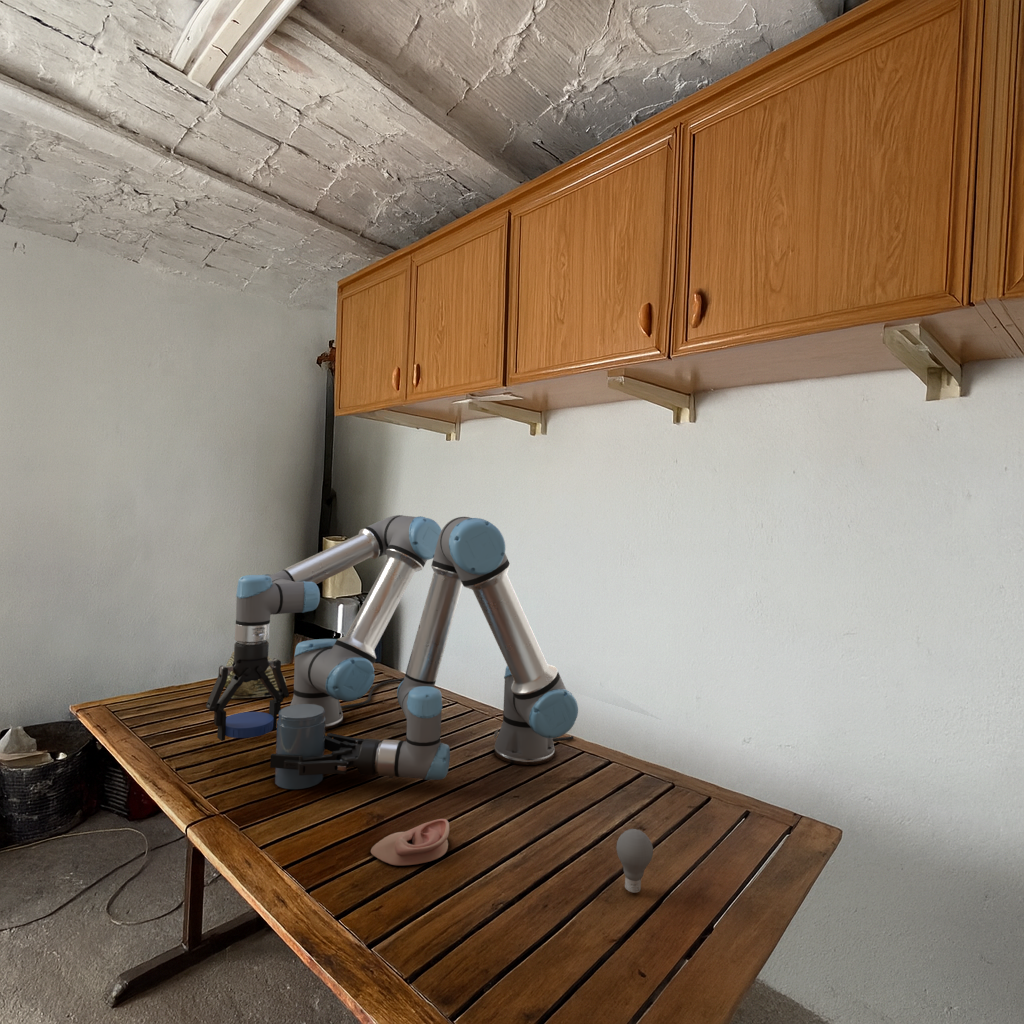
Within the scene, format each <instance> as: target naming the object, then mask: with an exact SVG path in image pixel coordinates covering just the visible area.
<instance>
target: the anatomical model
mask: <svg viewBox="0 0 1024 1024" xmlns="http://www.w3.org/2000/svg"><path fill="white" fill-rule="evenodd" d="M449 835H450V823H449V821H448V819H446V818H437V819H434V820H430V821H427V822H425V823H421V824H419V825H417V826H415V827H413V828H411V829H407V830H405V831H398V832H393V833H391V834H389V835H387V836H384V837H383V838H382V839H380V840H379V841H377V842H376V843H375V844H374V845H373V846H372V847H371V849H370V853H371V855H372V856H374V858H377V859H378V860H380V861H381V862H383V863H386V864H388V865H392V866H399V867H400V866H412V865H419V864H420V865H421V864H425V863H428V862H432V861H435V860H438V859H439V858H441V857H443V856H444V855H445V854H446V853H447V851H448V849H449V841H448V837H449Z"/></svg>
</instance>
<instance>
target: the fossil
mask: <svg viewBox="0 0 1024 1024" xmlns="http://www.w3.org/2000/svg"><path fill="white" fill-rule="evenodd" d="M269 660H273V658H271V657H270V656H269V655H268V661H269ZM233 662H234V651H232V653H231V656H230V657H229V659H228V660H227V663H226V665H225V666H232V664H233ZM265 674H266V675H267V677H268V678H269V680H270V682H271V683H272V684H273V686H274V687H275V689H276V690H277V692H278V693H280V692H279V689H278V686H277V683H276V680H275V677H274V674H273V671H272V669H271V668H270V666H269V667H268V668H267V670H266V671H265ZM234 675H235V673H234V672H233V671H231V673H230V675H229V676H228V678H227V681H226V683H225V686H224V688H225V689H226V688H227V687H228V685H229V684H230V682H231V679H232V678H233V676H234ZM283 677H284V680H285V683H286V686H287V680H286V678H285V676H284V675H283ZM287 687H288V686H287ZM264 697H272V696H271V695H270V693H269V692H268V690H267V689H266V687H265V686H264V685H263V683H262V682H261V680H260V679H258V680H257V681H249V682H243V683H242V685H241V686H239V687H238V689H237V690H236V692H235V693H234V695H233V696H232V698H231V699H250V698H264Z"/></svg>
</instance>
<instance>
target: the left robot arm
mask: <svg viewBox="0 0 1024 1024" xmlns="http://www.w3.org/2000/svg"><path fill="white" fill-rule="evenodd" d="M441 530H442V528H441V526H440V525H439V523H438V522H437V521H436V520H434V519H432V518H429V517H425V516H421V515H419V516H411V515H401V514H397V515H392V516H389V517H386V518H384V519H381V520H378V521H376V522H374V523H372V524H370V525H367V526H365V527H364V528H361V529H360V530H359V531H358V534H356V535H354V536H352V537H349V538H348V539H346V540H344V541H341V542H339V543H337V544H335V545H333V546H331V547H329V548H327V549H324V550H322V551H319V552H318V553H315V554H314V555H311V556H309V557H307V558H305V559H303V560H301V561H298V562H296V563H293V564H292V565H290V566H288V567H286V568H283V569H281V570H279V571H276V572H274V573H271V574H268V573H267V574H246V575H243V576H241V577H240V578H239V579H238V581H237V587H236V595H235V598H236V604H235V606H236V607H235V608H236V609H235V626H234V641H236V642H235V643H234V646H233V647H234V648H233V652H234V662H233V664H232V666H226V665H225V666H224V665H222V664H221V665H220V666H219V667H218V675H217V677H216V680H215V683H214V685H213V688H212V691H211V692H210V695H209V697H208V699H207V702H206V704H205V708H206V710H209V711H210V712H213V715H214V716H213V724H214V726H216V727H217V735H216V738H217V739H219V740H220V742H224V741H226V736H225V730H226V717H227V711H225V708H226V707H227V705H228V703H229V702H230V701H231V699H233V698H232V696H233V695H234V693H235V692H236V690H237V689H238V687H239V686H241V685H242V683H243V682H249V681H257V680H258V679H260V680H261V682H262V683H263V685H264V686H265V687H266V689H267V690H268V692H269V693H270V695H271V696H270V697H271V698H272V699H270V700H269V706H268V707H269V708H268V714H270V715H272V716H273V717H274V727H273V729H272V731H275V730H277V720H278V715H279V711H280V710H281V709H282V708H281V707H282V703H283V701H284V699H287V698H289V697H290V693H289V689H288V686H286V685H287V682H286V683H285V680H286V679H285V680H284V677H285V676H284V674H283V671H282V661H281V660H280V659H277V658H275V657H274V658H272V660H269V661H268V656H269V647H270V643H269V641H268V640H269V639H270V625H271V615H281V614H282V615H283V614H296V613H302V614H304V613H307V612H313V611H315V610H316V609H317V608H318V607H319V604H320V599H321V593H320V588H319V586H318V585H317V584H320V583H322V582H324V581H325V580H328V579H330V578H331V577H334V576H336V575H338V574H340V573H342V572H344V571H346V570H348V569H350V568H352V567H354V566H356V565H358V564H361V563H362V562H364V561H366V560H368V559H373V560H375V559H379V558H380V557H382V556H386V560H385V562H384V564H383V565H382V568H381V570H380V572H379V573H378V575H377V577H376V579H375V581H374V583H373V585H372V586H371V588H370V590H369V592H368V594H367V595H366V597H365V599H364V601H363V603H362V605H361V606H360V609H359V610H358V612H357V614H356V616H355V617H354V620H353V621H352V623H351V624H350V626H349V629H348V630H347V632H346V634H345V635H344V636H341V637H339V638H319V639H308V640H303V641H300V642H297V644H296V646H295V650H294V655H293V657H294V672H293V695H292V696H293V697H292V699H291V702H290V704H289V706H291V705H297V704H315V705H319V706H321V707H323V708H324V710H325V713H324V716H325V718H326V723H325V731H329V730H332V729H335V728H337V727H339V726H340V725H342V723H343V722H344V714H343V709H349V708H356V707H360V706H365V705H366V704H368V703H369V702H371V701H372V695H373V692H374V690H376V689H377V688H379V687H382V686H383V685H387V684H391V683H397V682H402V681H403V680H404V677H400V678H395V679H389V680H384V681H381V682H379V683H376V685H374V686H373V684H374V681H375V677H376V674H375V668H374V664H375V662H376V661H377V660H376V659H377V655H376V651H375V649H376V648H377V646H378V644H379V642H380V641H381V638H382V636H383V635H384V632H385V631H386V629H387V628H388V627H387V626H388V625H389V623H390V621H391V619H392V617H393V615H394V613H395V611H396V609H397V608H398V606H399V603H400V601H401V600H402V598H403V596H404V594H405V592H406V590H407V588H408V587H409V585H410V583H411V581H412V579H413V577H414V575H415V573H416V572H419V571H420V572H421V571H423V569H424V567H425V565H426V563H427V562H428V561H429V560H433V558H434V554H435V550H436V546H437V542H438V538H439V535H440V532H441ZM269 666H270V668H271V669H272V671H273V674H274V677H275V680H276V683H277V686H278V689H279V692H280V693H278V692H277V690H276V689H275V687H274V686H273V684H272V683H271V682H270V680H269V678H268V677H267V675H266V674H265V671H266V670H267V668H268V667H269ZM231 671H233V672H234V673H235V675H234V676H233V678H232V679H231V682H230V684H229V685H228V687H227V688H225V687H224V686H225V683H226V681H227V678H228V676H229V675H230V673H231ZM283 676H284V677H283ZM224 688H225V690H224ZM368 692H369V693H368ZM367 693H368V695H367V699H366V700H363V701H361V702H356V703H351V704H344V705H341V702H340V701H342V702H353V701H354V702H355V701H357V700H358V699H361V698H362V697H363V696H365V695H366V694H367Z"/></svg>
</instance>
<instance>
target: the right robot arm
mask: <svg viewBox="0 0 1024 1024" xmlns="http://www.w3.org/2000/svg"><path fill="white" fill-rule="evenodd" d="M430 567H431V569H432V571H433V574H432V577H431V581H430V585H429V589H428V591H427V595H426V599H425V602H424V607H423V610H422V613H421V616H420V620H419V624H418V628H417V631H416V634H415V638H414V641H413V646H412V648H411V653H410V656H409V660H408V664H407V667H406V670H405V675H404V677H403V678H404V680H403V681H400V683H399V684H398V687H397V688H396V697H397V702H398V705H399V706H400V708H401V710H402V712H403V715H404V717H405V719H406V736H405V740H398V739H384V738H383V740H381V739H379V738H358V737H357V738H356V737H351V736H346V735H341V734H337V733H332V732H328V733H327V734H326V735H325V749H324V751H326V750H327V751H329V752H330V753H327V754H324V755H320V756H313V757H306V758H303V756H302V755H300V756H297V755H283V754H276V753H271V754H270V765H269V766H270V768H271V769H275V768H283V769H297V770H299V773H298V775H318V774H324V775H333V774H335V775H346V774H347V771H348V768H356V769H357V771H358V773H359V774H360V775H363V776H376V775H378V776H380V777H389V778H390V779H393V778H404V779H405V778H406V779H408V778H409V779H416V780H417V779H419V780H424V781H436V780H437V781H439V780H440V781H441V780H444V779H445V778H446V777H447V775H448V773H449V768H450V762H451V761H450V760H451V747H450V745H449V744H448V743H444V742H442V739H441V730H442V729H441V728H442V714H443V713H442V712H443V711H442V710H443V695H442V692H441V690H440V689H438V688H436V687H435V686H436V682H437V678H438V674H439V671H440V668H441V665H442V664H441V663H442V660H443V656H444V652H445V649H446V646H447V642H448V639H449V635H450V632H451V628H452V624H453V621H454V617H455V613H456V611H457V607H458V603H459V600H460V596H461V592H462V589H463V587H464V588H466V589H469V590H471V591H472V592H473V594H474V597H475V598H476V600H477V603H478V605H479V607H480V609H481V612H482V614H483V616H484V618H485V620H486V623H487V624H488V626H489V629H490V631H491V634H492V635H493V638H494V640H495V642H496V644H497V646H498V648H499V651H500V653H501V655H502V657H503V659H504V661H505V663H506V667H505V671H504V676H503V679H504V685H503V688H504V689H503V712H502V713H503V714H502V723H501V726H500V729H499V728H497V729H496V730H495V731H494V734H493V735H494V736H493V737H494V738H493V739H496V740H495V743H494V754H495V756H496V757H497V758H499V759H500V760H502V761H504V762H506V763H509V764H514V765H519V766H534V765H535V766H537V765H543V764H545V763H548V762H550V761H551V760H553V758H554V757H555V742H563V741H572V740H574V735H571V737H570V736H565V735H566V734H567V733H568V732H569V731H570V730H571V729H572V728H573V727H574V725H575V724H576V721H577V718H578V716H579V704H578V702H577V700H576V698H575V696H574V695H573V693H572V692H571V691H569V690H568V689H567V688H566V685H565V684H564V682H563V681H564V680H563V679H562V677H561V675H560V672H559V670H558V668H557V667H556V666H555V665H552V664H549V663H548V662H547V660H546V658H545V655H544V653H543V651H542V648H541V646H540V644H539V642H538V640H537V637H536V635H535V633H534V631H533V629H532V626H531V624H530V622H529V619H528V617H527V615H526V613H525V611H524V608H523V607H522V604H521V602H520V599H519V597H518V595H517V593H516V591H515V588H514V586H513V584H512V582H511V580H510V577H509V575H508V572H509V570H510V567H511V563H510V561H509V559H508V556H507V554H506V541H505V538H504V535H503V534H502V532H501V531H500V529H499V528H498V527H497V526H496V525H494V524H493V523H491V521H489V520H486V519H484V518H481V517H479V518H478V517H469V516H458V517H455V518H452V519H451V520H449V521H448V522H447V523H446V524H445V525H444V526H443V527H442V528H441V532H440V535H439V538H438V542H437V546H436V550H435V554H434V558H432V561H431V565H430ZM563 736H564V737H563Z"/></svg>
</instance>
